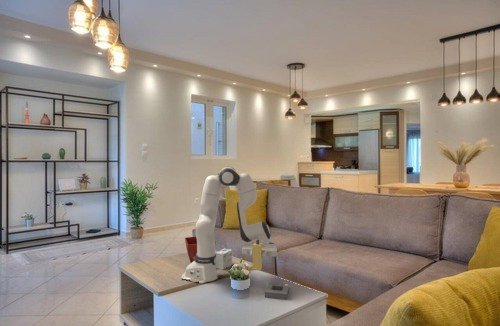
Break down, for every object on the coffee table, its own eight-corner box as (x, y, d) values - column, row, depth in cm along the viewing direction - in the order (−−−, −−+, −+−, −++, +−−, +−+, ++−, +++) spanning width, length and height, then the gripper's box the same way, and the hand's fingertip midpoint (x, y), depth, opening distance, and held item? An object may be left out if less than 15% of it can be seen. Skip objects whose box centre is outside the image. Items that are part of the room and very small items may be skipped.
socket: (264, 297, 170) (264, 290, 170) (268, 287, 182) (268, 281, 182) (286, 299, 167) (287, 292, 167) (289, 289, 179) (289, 283, 179)
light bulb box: (224, 263, 221) (224, 247, 221) (232, 264, 218) (232, 249, 217) (215, 268, 212) (215, 252, 212) (223, 270, 209) (223, 254, 208)
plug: (252, 269, 175) (252, 240, 174) (254, 267, 179) (254, 238, 178) (260, 270, 174) (260, 241, 173) (261, 267, 178) (262, 239, 177)
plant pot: (184, 260, 227) (184, 237, 227) (211, 257, 233) (211, 234, 232) (187, 269, 209) (187, 244, 208) (216, 266, 215) (216, 242, 214)
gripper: (245, 241, 191) (239, 248, 178) (278, 243, 186) (275, 251, 173) (244, 251, 191) (239, 259, 178) (278, 254, 187) (275, 262, 173)
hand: (257, 255), depth 175 cm, fingers closed on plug, 4 cm apart
